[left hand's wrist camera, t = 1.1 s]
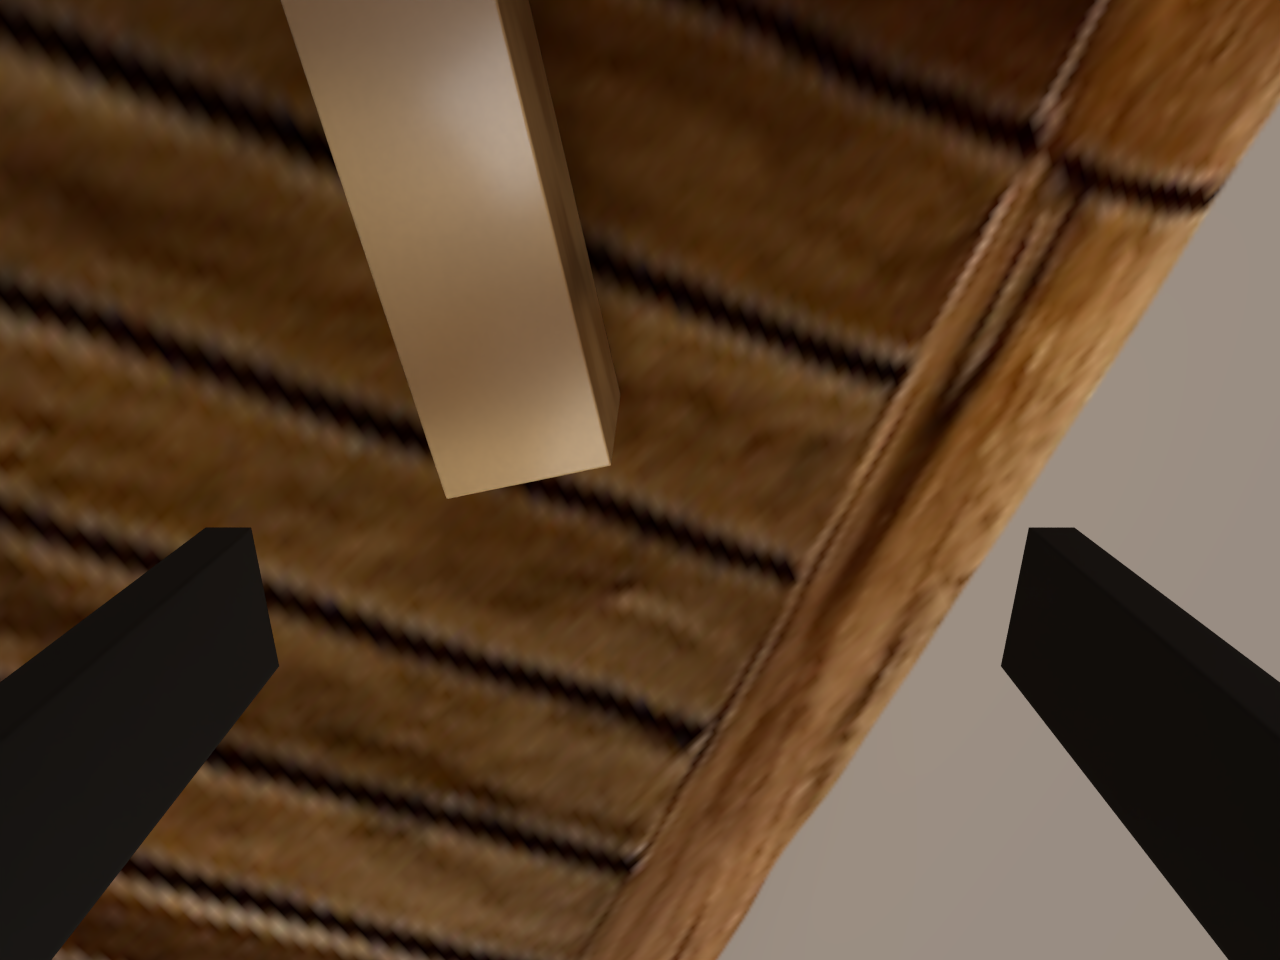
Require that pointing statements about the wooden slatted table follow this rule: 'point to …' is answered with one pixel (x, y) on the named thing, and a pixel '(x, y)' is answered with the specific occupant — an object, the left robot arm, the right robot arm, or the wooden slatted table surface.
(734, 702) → the wooden slatted table surface
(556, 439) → the bar
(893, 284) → the wooden slatted table surface
